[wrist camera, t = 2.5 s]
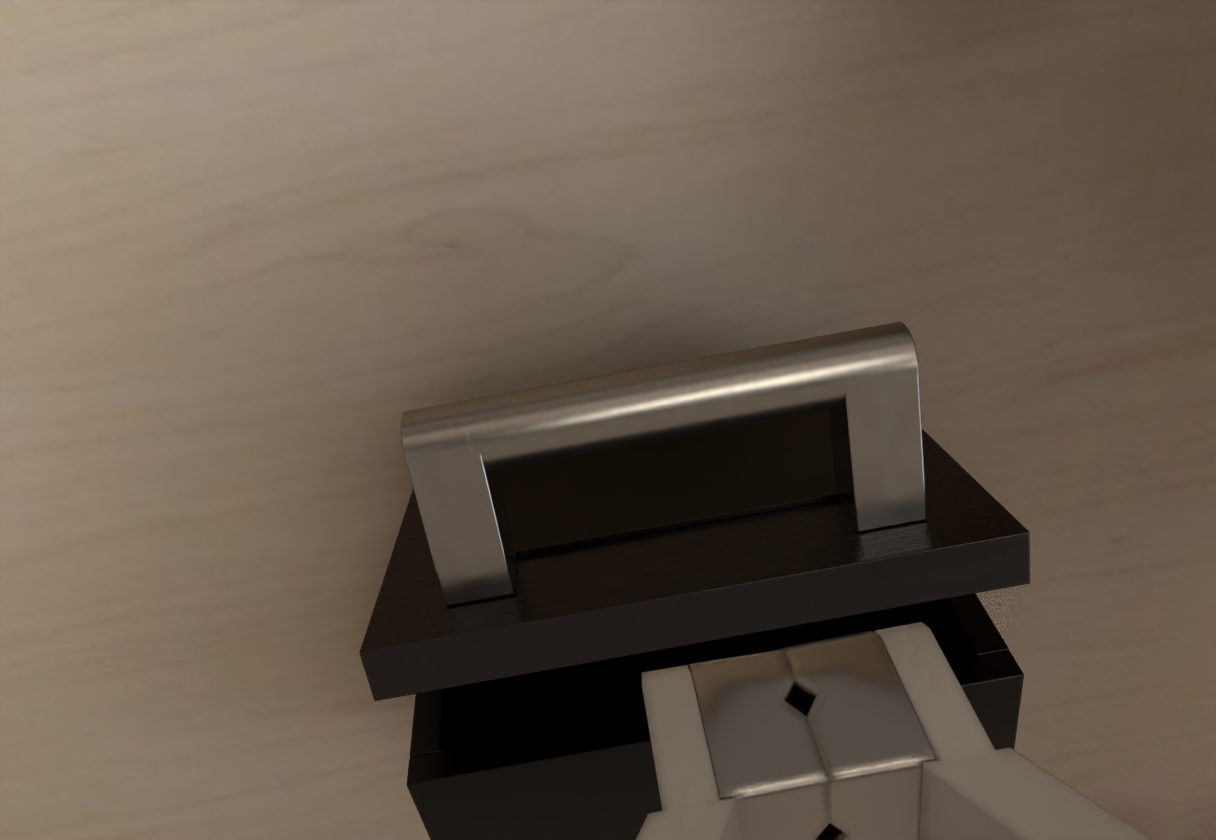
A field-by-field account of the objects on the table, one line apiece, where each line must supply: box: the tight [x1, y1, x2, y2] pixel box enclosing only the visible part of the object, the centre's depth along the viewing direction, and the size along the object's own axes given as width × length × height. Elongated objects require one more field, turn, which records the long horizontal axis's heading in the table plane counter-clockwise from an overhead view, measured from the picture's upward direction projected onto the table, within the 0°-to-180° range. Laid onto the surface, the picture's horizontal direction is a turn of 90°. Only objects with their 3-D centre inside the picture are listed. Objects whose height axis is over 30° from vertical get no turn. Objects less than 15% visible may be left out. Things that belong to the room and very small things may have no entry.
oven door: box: [360, 322, 1030, 701], centre depth 31 cm, size 7×18×14 cm, turn 99°
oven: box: [407, 593, 1024, 840], centre depth 37 cm, size 14×18×14 cm
